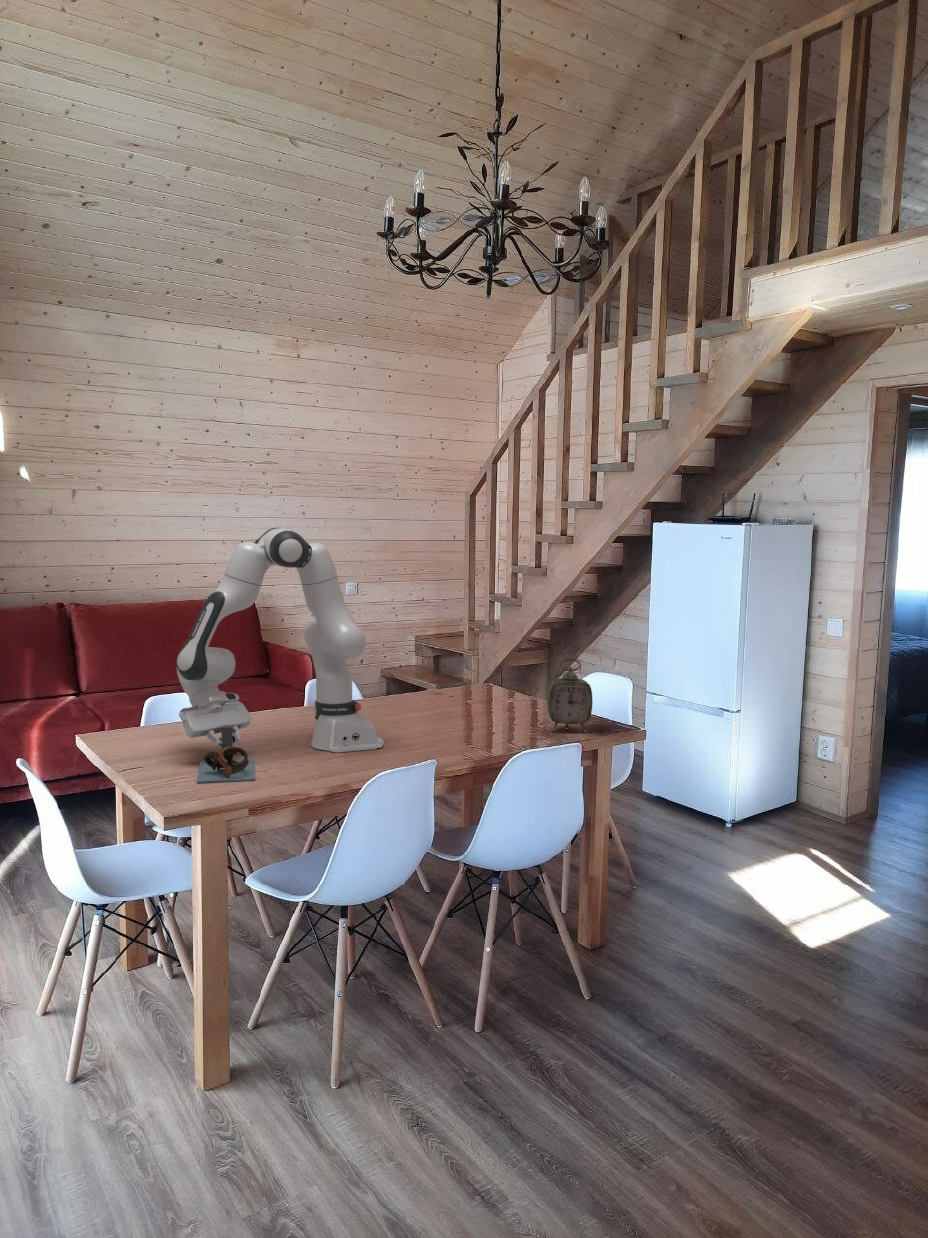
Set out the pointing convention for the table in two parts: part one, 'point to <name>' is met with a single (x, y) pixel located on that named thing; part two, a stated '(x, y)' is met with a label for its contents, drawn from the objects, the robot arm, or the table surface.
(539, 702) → the table surface
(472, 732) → the table surface
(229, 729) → the grey base with post
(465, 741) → the table surface
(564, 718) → the tabletop clock
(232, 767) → the brown looped bands
